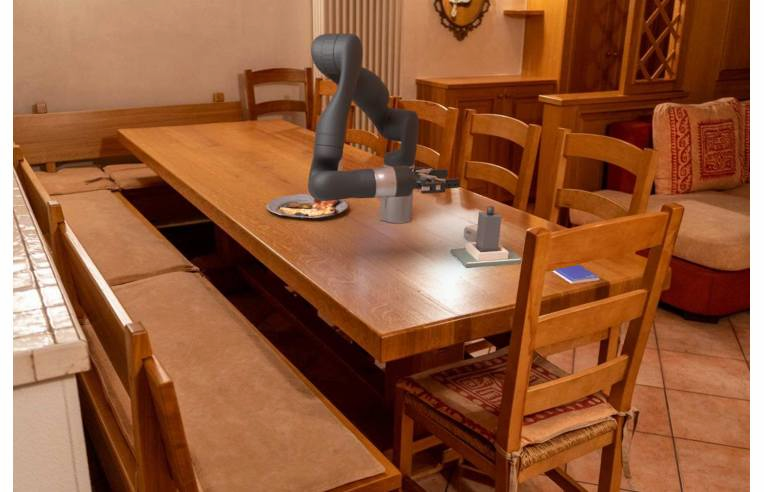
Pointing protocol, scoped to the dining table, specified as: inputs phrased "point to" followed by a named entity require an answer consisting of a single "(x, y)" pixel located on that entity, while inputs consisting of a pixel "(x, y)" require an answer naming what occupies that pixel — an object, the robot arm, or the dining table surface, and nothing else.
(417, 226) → the dining table surface
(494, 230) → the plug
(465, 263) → the board
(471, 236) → the usb wall charger
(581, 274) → the blue book
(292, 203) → the food plate
